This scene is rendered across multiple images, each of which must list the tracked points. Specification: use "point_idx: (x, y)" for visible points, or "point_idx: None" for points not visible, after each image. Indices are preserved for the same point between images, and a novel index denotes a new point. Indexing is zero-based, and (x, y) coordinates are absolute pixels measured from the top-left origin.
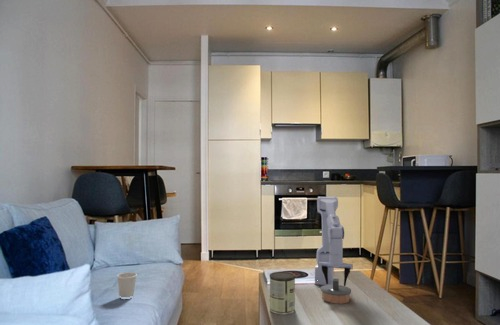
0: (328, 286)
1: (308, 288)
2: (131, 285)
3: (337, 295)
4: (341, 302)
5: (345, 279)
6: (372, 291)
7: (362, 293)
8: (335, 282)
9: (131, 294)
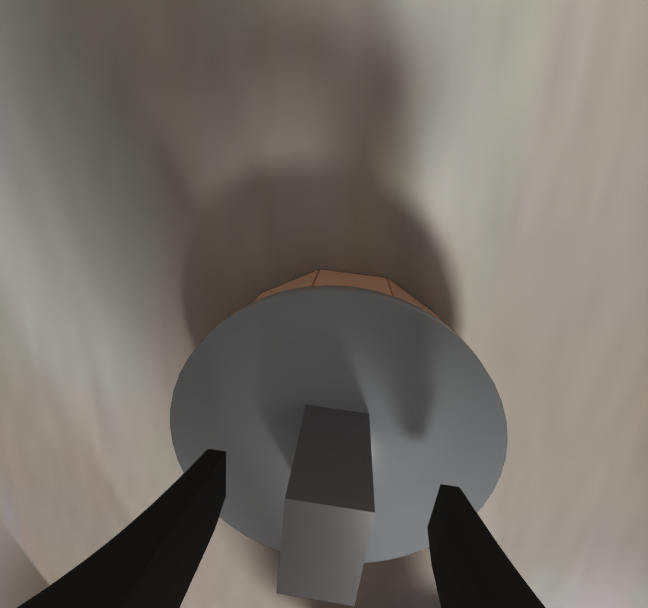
0: (406, 511)
1: (534, 573)
2: None
3: None
4: (292, 281)
5: (155, 519)
6: (87, 550)
7: None
8: (334, 484)
9: None
